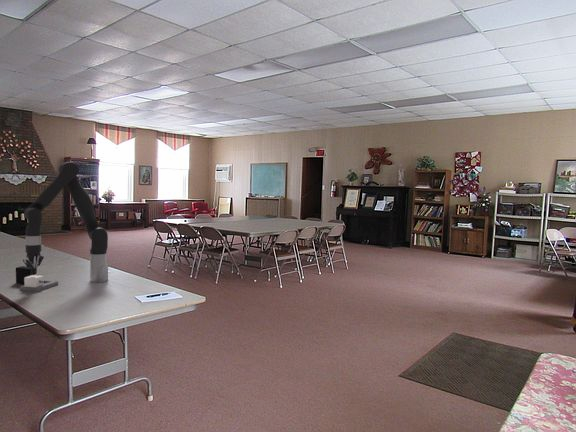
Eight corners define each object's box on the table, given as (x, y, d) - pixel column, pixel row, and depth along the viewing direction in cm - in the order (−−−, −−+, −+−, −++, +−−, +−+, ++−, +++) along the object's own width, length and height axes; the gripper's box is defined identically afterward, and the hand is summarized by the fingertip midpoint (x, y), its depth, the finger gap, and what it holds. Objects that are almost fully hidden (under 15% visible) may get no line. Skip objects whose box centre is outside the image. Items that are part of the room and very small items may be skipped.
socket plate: (58, 285, 241) (58, 281, 241) (37, 292, 225) (37, 288, 225) (41, 283, 243) (41, 279, 242) (19, 290, 227) (19, 286, 227)
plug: (47, 288, 232) (46, 276, 231) (38, 291, 226) (38, 278, 225) (32, 287, 233) (32, 275, 233) (24, 289, 227) (24, 277, 227)
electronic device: (28, 285, 237) (28, 268, 237) (15, 284, 241) (15, 267, 240) (35, 284, 241) (34, 267, 241) (22, 282, 245) (22, 265, 244)
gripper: (30, 245, 220) (30, 277, 222) (48, 242, 233) (48, 272, 235) (17, 245, 222) (18, 276, 223) (36, 241, 235) (36, 271, 236)
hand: (33, 274), depth 229 cm, fingers closed
